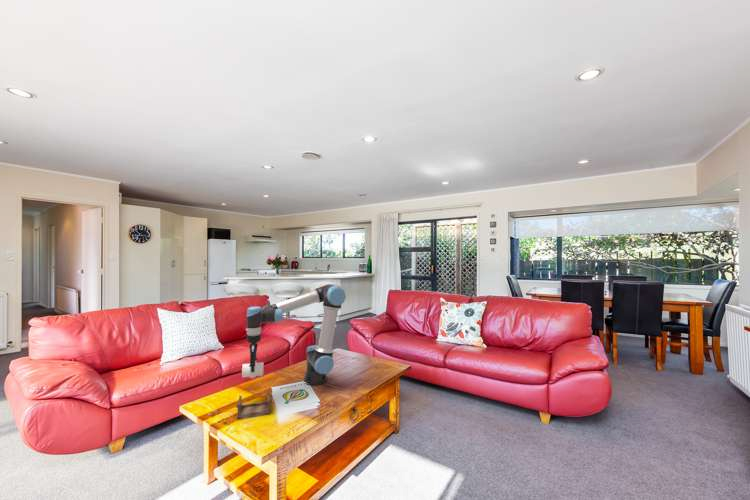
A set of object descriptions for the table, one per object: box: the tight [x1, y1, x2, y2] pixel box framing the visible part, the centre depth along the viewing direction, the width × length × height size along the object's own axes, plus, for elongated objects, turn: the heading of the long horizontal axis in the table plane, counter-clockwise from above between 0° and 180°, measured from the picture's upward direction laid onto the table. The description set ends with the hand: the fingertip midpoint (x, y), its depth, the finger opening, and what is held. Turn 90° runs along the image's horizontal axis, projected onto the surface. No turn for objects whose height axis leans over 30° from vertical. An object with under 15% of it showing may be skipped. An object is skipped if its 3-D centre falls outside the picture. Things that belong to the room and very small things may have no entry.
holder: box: [235, 392, 273, 420], centre depth 169 cm, size 18×11×7 cm, turn 109°
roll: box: [241, 361, 265, 378], centre depth 180 cm, size 11×7×7 cm, turn 107°
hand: (253, 374), depth 180 cm, fingers closed on roll, 7 cm apart
